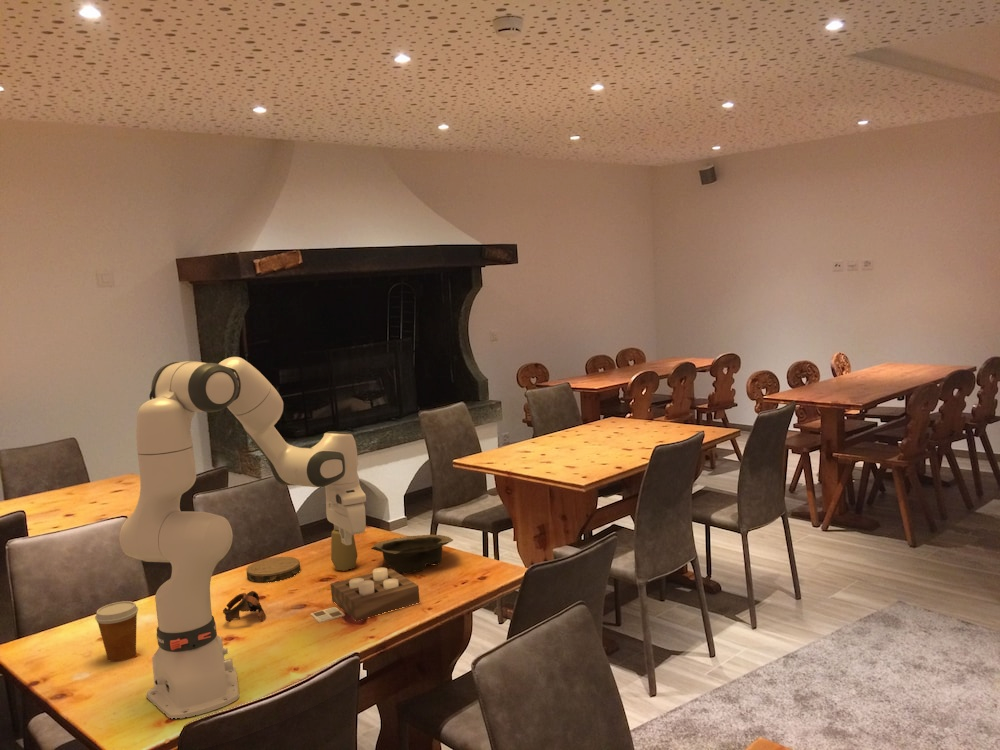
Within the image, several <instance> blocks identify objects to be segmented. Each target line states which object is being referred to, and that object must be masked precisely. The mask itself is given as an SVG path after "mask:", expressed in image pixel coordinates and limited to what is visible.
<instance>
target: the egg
mask: <svg viewBox="0 0 1000 750" xmlns="http://www.w3.org/2000/svg"><path fill="white" fill-rule="evenodd" d="M353 578H354V579H351V578H350V579H351V580H350V581H349V586H350V588H351V589H354V588H357V587H359V585H358V583H359V582H361V581H364V579H363V578H355V577H353Z"/></svg>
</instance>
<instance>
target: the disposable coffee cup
mask: <svg viewBox="0 0 1000 750" xmlns="http://www.w3.org/2000/svg"><path fill="white" fill-rule="evenodd" d="M138 611H139V607H138V606H137V604H136V602H134V601H130V600H129V601H128V600H126V601H117V602H113V603H108V604H106V605H103V606H101V607H100V608H98V609H97V610H96V614H95V617H94V620H95V621H96V623H97V624H98V625H97V626H98V628H99V631H100V637H101V638H102V639H101V640H102V643H103V646H104V649H105V654H106V657H107V660H108V661H109V660H110V662H121V661H124V660H129V659H130V658H132V657H133V656H135V655H136V654H137V621H138V620H137V615H138Z"/></svg>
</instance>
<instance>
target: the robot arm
mask: <svg viewBox="0 0 1000 750" xmlns="http://www.w3.org/2000/svg"><path fill="white" fill-rule="evenodd" d="M150 387H151V388H150V389H151V390H150V393H149V397H148V398H149V400H147V401H145V402H143V404H141V405H140V407H139V409H138V410H137V415H136V416H137V417H136V431H135V433H136V451H137V458H138V469H139V480H140V481H139V482H140V483H139V484H140V487H139V488H140V491H139V496H138V501H137V504H136V506H135V509H134V511H132V513H131V515H129V516H128V517H127V518H126V519H125V521H124V522H123V524H122V526H121V528H120V531H119V539H118V540H119V545H120V549H121V551H122V552H123V553H124V554H125V555H126V556H128V557H130V558H132V559H135V560H139V561H142V562H147V563H148V562H149V563H152V562H153V563H170V565H171V576H170V578H169V579H167V580H166V581H165V582H163V584H161V585H160V586H159V588H158V589H157V590H156V593H155V597H154V600H155V609H156V618H157V627H156V639H157V645H158V648H157V650H156V651H155V653H154V654H153V656H152V657H151V661H152V663H151V664H152V675H153V685H154V686H153V687H152V688H150V689H149V690H148V691H146V693H145V694H146V699H147V698H148V699H147V700H148V701H150V702H151V703H152V705H154V706H155V705H156V706H157V707H156V706H155V707H156V708H158V709H159V711H161V712H162V714H164V713H165V714H166V716H167V718H169V719H170V718H171V719H170V720H178V719H177V718H180V719H185V717H187V718H190V717H195V715H196V716H199V715H203V714H206V713H209V712H212V711H216V710H218V709H221V708H224V707H225V706H228V705H230V704H232V703H234V702H235V701H237V700H238V699H239V698H240V693H239V683H238V675H237V674H238V673H237V668H236V667H235V666H234V665H233V658H228V659H225V655H227V654H228V655H229V652H228V650H229V649H228V647H224V644H223V638H222V637H220V636H219V635H218V634H217V633H218V632H217V623H216V621H215V616H213V614H212V611H213V610H212V602H211V600H212V599H211V580H212V576H213V573H214V570H215V568H216V566H217V565H218V563H219V562H221V560H222V559H224V558H225V557H226V555H227V554H228V552H229V550H230V549H231V546H232V543H233V538H234V536H233V535H234V534H233V533H234V532H233V530H232V526H231V524H230V522H229V520H228V519H227V518H226V517H225V516H222V515H219V514H214V513H210V512H207V511H189V510H188V511H186V510H185V511H181V508H180V507H181V504H180V503H181V499H182V495H184V493H186V492H188V491H189V490H190V489H191V488H192V487H193V486H194V484H195V482H196V481H197V471H196V470H197V468H196V461H195V460H196V459H195V455H194V454H195V452H194V446H193V445H194V444H193V437H192V432H191V425H192V421H193V417H194V415H195V413H204V412H205V413H215V412H219V411H222V410H224V409H226V408H227V409H228V410H229V412H231V414H233V416H234V417H235V418H236V419H237V420H238V421H239V423H240V424H241V425H242V427H243V430H244V431H245V432H246V435H247V436H248V437H249V438H250V441H252V443H254V445H255V446H256V447H257V450H259V451H260V452H261V454H262V455H263V456H264V457H265V460H266V461H267V463H268V464H269V468H270V471H271V473H272V475H273V477H274V479H275V480H276V481H277V482H278V483H280V484H281V485H282V486H283V485H284V486H300V487H301V486H302V487H311V488H321V487H325V504H326V505H325V508H326V509H325V513H326V516H325V517H326V518H327V521H328V522H329V523H331V524H333V526H334V525H336V526H338V527H339V532H340V535H341V541H342V543H343V544H345V545H351V544H352V535H354V536H355V535H358V534H364V533H365V530H366V525H367V523H366V522H367V520H366V519H367V518H366V516H367V515H366V507H365V503H366V502H367V494H366V493H365V491H363V489H362V487H361V485H360V477H359V474H358V465H359V459H358V449H357V443H356V440H355V438H354V436H353V434H352V433H350V432H347V431H331V430H330V431H329V430H328V431H327V432H325V433H323V437H322V438H321V439H320V441H318V442H317V443H316V444H315V445H313V446H312V447H310V448H309V447H300V446H299V447H298V446H295V445H292V444H290V443H288V442H287V441H285V439H284V437H282V435H281V434H280V432H279V431H278V429H276V427H275V425H276V424H277V423H278V421H279V420H280V419H281V417H282V415H283V411H284V401H283V398H282V397H281V395H280V393H279V392H278V391H277V389H276V388H275V386H274V385H272V383H271V382H270V381H269V380H268V379H267V378H266V377H265V376H264V375H263V374H262V373H261V371H259V370H258V369H257V368H256V367H255V366H253V365H252V364H251V363H250V362H248V361H247V360H245V359H244V358H242V357H239V356H231V357H230V356H229V357H228V358H225V359H223V360H222V361H220V362H219V363H214V362H201V361H197V360H188V361H174V362H173V361H172V362H170V363H167V364H165V365H163V366H162V367H160V368H159V369H157V371H156V372H155V374H154V375H153V378H152V381H151V386H150ZM165 714H164V715H165ZM173 718H175V719H173Z"/></svg>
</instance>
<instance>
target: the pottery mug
mask: <svg viewBox="0 0 1000 750" xmlns="http://www.w3.org/2000/svg"><path fill="white" fill-rule="evenodd" d="M259 596H260V595H259V593H257V592H256V591H254V590H252V591H251V590H250V591H249V592H247V593H246V592H241V593H239V594H238V595H237V594H236V595H235V597H233V598H232V599H231V600H229V602H228V603H226V607H224V608H223V610H222V613H223V614H224V615H225V616H224V617H225V618H224V619H225V621H226V622H230V623H231V622H232V621H233V620H234V619H238V620H240V612H250V613H252V612H255V613H256V612H258V615H257V617H258V619H260V622H261V623H263V622H264V621H265V619H266V613H265V611H264V608H263V607H262V605H261V603H260V597H259ZM235 605H236V606H235Z"/></svg>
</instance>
